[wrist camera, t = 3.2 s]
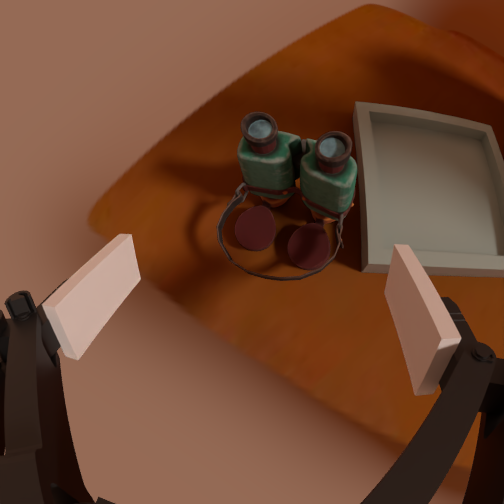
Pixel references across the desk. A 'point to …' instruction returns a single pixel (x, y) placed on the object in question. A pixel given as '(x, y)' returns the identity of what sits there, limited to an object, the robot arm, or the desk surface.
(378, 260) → the tray
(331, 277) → the desk surface
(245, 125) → the binoculars
